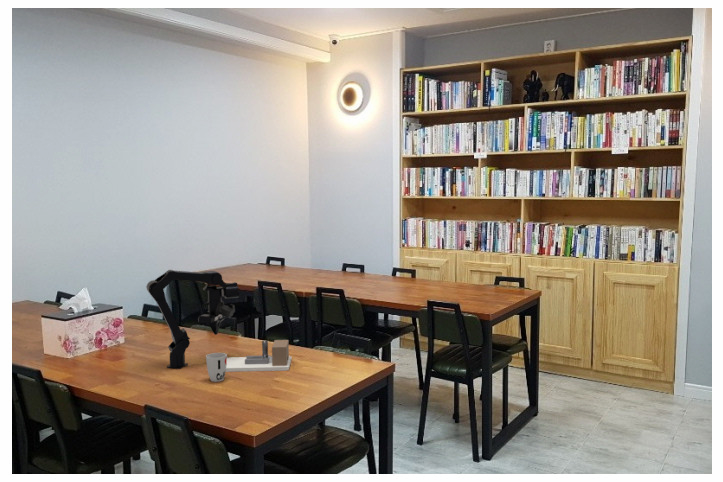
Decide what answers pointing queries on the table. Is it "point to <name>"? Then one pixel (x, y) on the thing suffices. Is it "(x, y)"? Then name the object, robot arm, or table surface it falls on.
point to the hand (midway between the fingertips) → (215, 334)
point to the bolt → (265, 351)
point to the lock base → (263, 360)
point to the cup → (216, 366)
